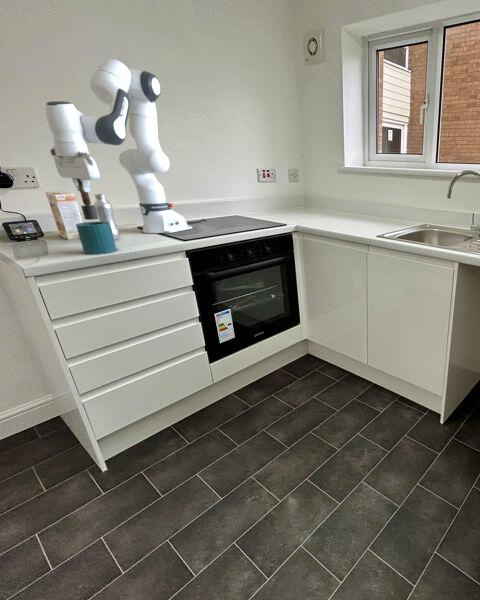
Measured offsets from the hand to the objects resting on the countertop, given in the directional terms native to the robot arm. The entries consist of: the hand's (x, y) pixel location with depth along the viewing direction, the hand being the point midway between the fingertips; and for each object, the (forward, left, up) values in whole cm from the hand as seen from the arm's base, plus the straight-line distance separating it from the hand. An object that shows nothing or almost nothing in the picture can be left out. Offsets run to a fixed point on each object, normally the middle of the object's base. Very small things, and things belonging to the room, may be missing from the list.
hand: (84, 191), depth 131 cm
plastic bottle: (-14, -19, -23) cm, 33 cm away
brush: (0, 0, -10) cm, 10 cm away
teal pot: (0, 0, -23) cm, 23 cm away
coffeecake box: (-9, -40, -23) cm, 47 cm away
